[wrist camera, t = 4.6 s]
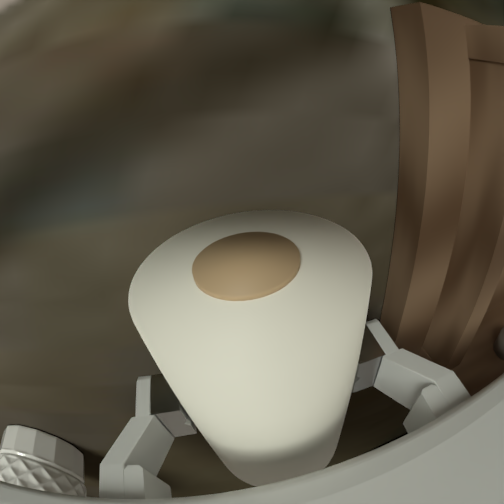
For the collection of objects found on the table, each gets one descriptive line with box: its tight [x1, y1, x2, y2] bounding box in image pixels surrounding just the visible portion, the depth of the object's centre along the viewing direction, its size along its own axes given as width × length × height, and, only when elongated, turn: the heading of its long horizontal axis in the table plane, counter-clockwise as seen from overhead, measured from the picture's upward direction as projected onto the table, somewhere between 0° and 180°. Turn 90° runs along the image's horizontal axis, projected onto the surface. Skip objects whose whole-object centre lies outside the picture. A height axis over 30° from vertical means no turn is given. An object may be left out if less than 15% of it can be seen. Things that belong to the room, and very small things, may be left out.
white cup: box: [0, 425, 86, 497], centre depth 11 cm, size 8×8×10 cm
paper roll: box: [128, 210, 372, 487], centre depth 9 cm, size 10×6×6 cm, turn 8°
